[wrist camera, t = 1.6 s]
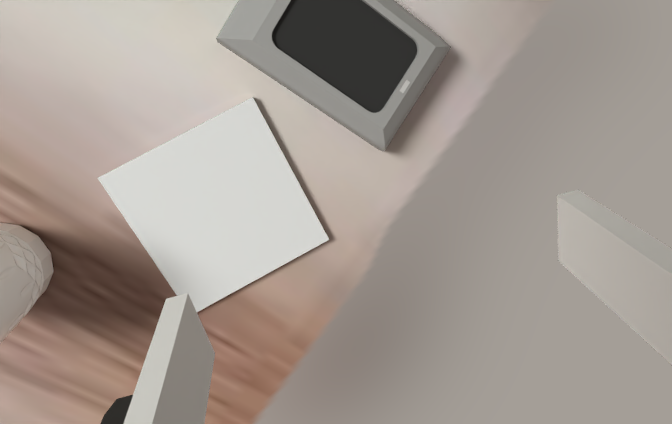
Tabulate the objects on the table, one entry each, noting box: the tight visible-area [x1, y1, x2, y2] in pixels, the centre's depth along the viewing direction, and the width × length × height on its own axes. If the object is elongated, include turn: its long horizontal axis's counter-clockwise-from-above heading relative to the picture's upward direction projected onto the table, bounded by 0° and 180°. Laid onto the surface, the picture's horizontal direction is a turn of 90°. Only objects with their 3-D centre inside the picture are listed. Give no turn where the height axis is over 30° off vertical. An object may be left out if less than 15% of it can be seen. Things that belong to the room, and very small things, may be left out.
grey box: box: [216, 0, 451, 151], centre depth 35 cm, size 10×4×15 cm
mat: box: [98, 97, 329, 312], centre depth 37 cm, size 13×13×1 cm
